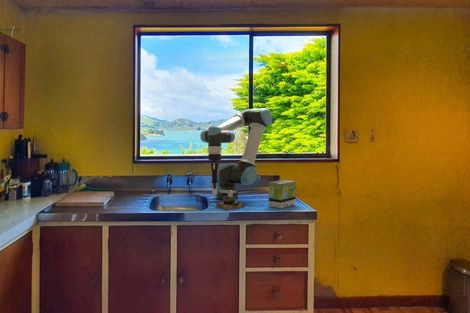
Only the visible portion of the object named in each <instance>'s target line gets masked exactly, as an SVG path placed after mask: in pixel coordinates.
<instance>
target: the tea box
mask: <svg viewBox="0 0 470 313" xmlns="http://www.w3.org/2000/svg"><path fill="white" fill-rule="evenodd" d="M296 186H297V182H296V181H295V180H288V179H287V180H286V179H282V180H274V181H269V182H268V207H271V208H276V209H277V208H278V209H284V208H288V207H291V205H292V206H295V205H296V192H297V188H296ZM294 204H295V205H294Z"/></svg>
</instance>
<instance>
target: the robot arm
mask: <svg viewBox="0 0 470 313" xmlns="http://www.w3.org/2000/svg"><path fill="white" fill-rule="evenodd" d="M272 122H273V116H272V112H271V111H270V109H268V108H264V107H263V108H261V107H260V108H250V109H249V108H248V109H247V108H246V109H245V110H242V111H240V112H238V113H236V114H234V116H233V117H231V118H230V119H228V120H226V121H224V122H222V123H220V124H218V125H217V126H209V127H208V129H207V130H202V131H201V132H200V134H199V135H200V140H201V142H203V143H207V144H208V145H207V153H208V154H207V160H208V161H212V162H211V163H210V166H211V167H210V168H211V182H210V183H212V184H211V188H212V189H211V192H212V193H211V194H212V195H215V196H216V199H217V200H223V196H226V195H228V193H222V194H217V188H218V187H220V188H222V190H236V193H233V196H235V200H238V199H239V198H240V195H239V192H238V189H237V185H238V184H239V185H243V186H245V185H248V186H249V185H252V184H254V183H255V182H256V179H257V177H258V170H257V167H256V165H255V163H256V157H257V154H258V152H259V147H260V144H261V140H262V138H263V137H262V136H263V133H264V132H265V131H266V130H267V127H268V126H271V124H272ZM243 127H250V129H249V132H248V137H247V140H246V142H245V147H244V149H243V153H242V157H241V160H239V161H238V162H237V164H236V163H223V164H220V165H219V163H218V161H221V160H222V154H221V152H222V150H223V147H222V144H231V143H233V142H234V141H235V139H236V135H235V133H234V131H235V130H237V129H239V128H243Z"/></svg>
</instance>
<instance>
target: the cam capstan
mask: <svg viewBox="0 0 470 313" xmlns="http://www.w3.org/2000/svg"><path fill="white" fill-rule="evenodd" d="M222 193H228V195H226V196H223V201H222V202H223V203H224V204H232V203H235V201H236V199H235V196H233V193H236V190H222V188H220V187H219V186H217V194H222Z"/></svg>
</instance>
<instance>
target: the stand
mask: <svg viewBox="0 0 470 313" xmlns="http://www.w3.org/2000/svg"><path fill="white" fill-rule="evenodd" d="M215 206H216V208H219V209H220V208H221V209H223V210H226V211H231V210H237V209H242V208H244V209H245V206H246V205H245V203H242V202H238V201H236V200H235V203H232V204H224V203H223V201H221V202H217V203H216V205H215Z"/></svg>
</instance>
